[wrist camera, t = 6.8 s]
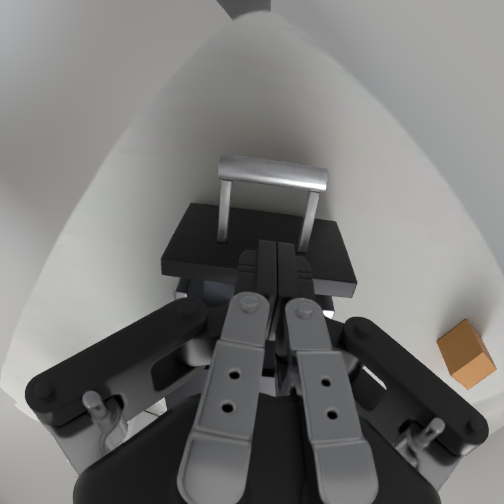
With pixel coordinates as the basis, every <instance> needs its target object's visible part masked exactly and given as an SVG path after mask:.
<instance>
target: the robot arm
mask: <svg viewBox="0 0 504 504" xmlns="http://www.w3.org/2000/svg"><path fill="white" fill-rule="evenodd" d="M268 333H269V340H271V341H275V350H274V354H273V365H274V378H275V390H276V397H275V396H271V395H268V394H264V393H261V392H259V389H260V382H261V375H262V368H263V361H264V353H265V347H264V345H265V340H267V338H268ZM206 365H210V366H209V370H208V373H207V377H206V381H205V384H204V388H203V391H202V393H199V394H196V395H192V396H190V397H187V398H185V399H183V400H181V401H180V402H178V403H177V404H175V405H174V406H173V407H171V408H170V409H169V410H167V411H166V412H165V413H163V414H162V415H161V416H159V417H158V418H157V419H155V420H154V421H153V422H151V423H150V424H149V425H147V426H146V427H144V428H143V429H142V430H140V431H139V432H138V433H136V434H135V435H133V436H132V437H131V438H129V439H128V440H126V441H125V442H124V443H122V444H121V445H119V446H118V447H116V446H117V445H118V444H119V443H120V442H121V441H122V440H123V439H124V438H125V437H126V435H127V432H128V424H127V421H129V420H131V419H132V418H134V417H135V416H137V415H138V414H140V413H141V412H143V411H144V410H146V409H147V408H149V407H150V406H152V405H153V404H155V403H156V402H158V401H159V400H161V399H162V398H164V397H165V396H167V395H168V394H169V393H171V392H172V391H174V390H175V389H177V388H178V387H180V386H181V385H182V384H184V383H185V382H187V381H188V380H190V379H191V378H192V377H194V376H195V375H197V374H198V373H199V372H201V371H202V370H203V369H204V368H205V367H206ZM364 365H365V366H366V367H367V368H368V369H369V370H370V371H371V372H372V373H373V374H375V375H376V376H377V377H378V378H379V379H380V380H381V381H382V382H383V383H384V384H385V386H386V389H387V390H386V389H384V388H383V387H382V386H381V385H380V384H379V383H378V382H377V381H376V380H375V379H373V378H372V377H371V376H370V375H369V374H368V373H367V372H366V371H365V370H364V369H363V367H364ZM25 399H26V402H27V404H28V405H29V407H30V408H31V409H32V410H33V412H34V413H35V414H36V416H37V418H38V419H39V421H40V422H41V423H42V424H43V425H44V427H45V428H46V429H47V430H48V431H49V432H50V433H51V434H52V436H54V438H55V440H56V441H57V443H58V445H59V446H60V448H61V449H62V451H63V452H64V454H65V456H66V457H67V458H68V460H69V462H70V463H71V465H72V466H73V468H74V469H75V471H76V472H77V473H78V475H79V477H78V479H77V481H76V484H75V486H74V491H73V504H441V500H440V497H439V494H438V491H439V490H440V488H441V487H442V486H443V484H444V483H445V482H446V480H447V479H448V478H449V476H450V475H451V473H452V472H453V470H454V469H455V467H456V466H457V465H458V463H459V462H460V460H461V459H462V458H463V457H465V456H466V455H468V454H469V453H470V452H472V451H473V450H474V449H476V448H477V447H478V446H479V445H481V444H482V443H483V442H484V441H485V440H486V439H487V437H488V433H489V428H488V424H487V421H486V419H485V418H484V417H483V416H482V415H481V414H480V413H479V412H478V411H477V410H476V409H475V408H474V407H472V406H471V405H470V404H469V403H468V402H467V401H465V400H464V399H463V398H462V397H461V396H460V395H459V394H457V393H456V392H455V391H454V390H453V389H452V388H450V387H449V386H448V385H447V384H446V383H445V382H443V381H442V380H441V379H440V378H439V377H438V376H436V375H435V374H434V373H433V372H432V371H431V370H429V369H428V368H427V367H426V366H425V365H424V364H422V363H421V362H420V361H419V360H418V359H416V358H415V357H414V356H413V355H412V354H410V353H409V352H408V351H407V350H406V349H405V348H403V347H402V346H401V345H400V344H399V343H397V342H396V341H395V340H394V339H393V338H391V337H390V336H389V335H388V334H387V333H385V332H384V331H383V330H382V329H381V328H379V327H378V326H377V325H376V324H375V323H373V322H372V321H370V320H369V319H366V318H363V317H351V318H349V319H348V320H347V321H346V322H345V324H344V323H341V322H338V321H335V320H333V319H330V318H328V317H327V316H325V315H324V313H323V310H322V308H321V307H320V306H319V305H318V304H317V303H316V297H315V290H314V284H313V278H312V271H311V265H310V263H309V262H308V261H307V259H306V258H305V257H302V256H295V248H294V244H290V243H283V242H277V244H276V242H274V241H267V240H259V244H258V251H254V250H245V251H244V252H243V253H242V254H241V255H240V258H239V264H238V271H237V277H236V284H235V290H234V296H233V297H232V299H231V300H230V301H229V302H228V303H226V304H225V305H222V306H219V307H211V308H208V307H207V306H206V304H205V303H204V302H202V301H201V300H199V299H196V298H192V297H183V298H179V299H177V300H174V301H173V302H171V303H169V304H167V305H165V306H164V307H162V308H160V309H158V310H156V311H154V312H153V313H151V314H149V315H147V316H145V317H143V318H142V319H140V320H138V321H136V322H134V323H132V324H131V325H129V326H127V327H125V328H123V329H121V330H120V331H118V332H116V333H114V334H112V335H110V336H109V337H107V338H105V339H103V340H101V341H99V342H98V343H96V344H94V345H92V346H90V347H88V348H87V349H85V350H83V351H81V352H79V353H77V354H76V355H74V356H72V357H70V358H68V359H66V360H64V361H63V362H61V363H59V364H57V365H55V366H53V367H52V368H50V369H48V370H46V371H44V372H42V373H40V374H39V375H37V376H35V377H34V378H32V379H31V380H30V382H29V383H28V385H27V387H26V390H25Z"/></svg>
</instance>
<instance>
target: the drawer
mask: <svg viewBox="0 0 504 504" xmlns="http://www.w3.org/2000/svg"><path fill="white" fill-rule="evenodd" d="M218 178H219V179H222V181H221V193H220V206H215V205H207V204H198V203H190V205H189V206H188V208H187V210H186V212H185V214H184V216H183V217H182V219H181V221H180V223H179V225H178V227H177V229H176V230H175V232H174V234H173V236H172V238H171V240H170V242H169V244H168V246H167V248H166V249H165V251H164V253H163V255H162V257H161V271H162V275H167V276H174V277H180V279H179V282H178V284H177V287H176V290H175V300H177V299H179V298H183V297H192V298H196V299H199V300H201V301H202V302H204V303H205V304H206V306H207V307H208V308H211V307H219V306H222V305H225V304H226V303H228V302H229V301H230V300H231V299H232V297H233V296H234V290H235V284H236V277H237V271H238V264H239V258H240V255H241V254H242V253H243V252H244V251H245V250H254V251H258V244H259V240H267V241H274V242H276V244H277V242H283V243H290V244H294V248H295V256H302V257H305V258H306V259H307V261H308V262H309V263H310V265H311V271H312V278H313V284H314V290H315V297H316V303H317V304H318V305H319V306H320V307H321V308H322V310H323V313H324V315H325V316H327V317H328V318H330V319H332V317H333V314H334V312H335V310H334V306H333V301H332V296H337V297H347V298H352V296H353V294H354V291H355V288H356V286H357V280H356V277H355V274H354V271H353V268H352V265H351V262H350V259H349V256H348V253H347V250H346V247H345V245H344V242H343V239H342V236H341V233H340V231H339V228H338V225H337V222H335V221H329V220H322V219H315V214H316V210H317V205H318V201H319V196H320V192H325V190H326V187H327V183H328V169H327V168H321V167H315V166H309V165H303V164H296V163H290V162H283V161H276V160H268V159H261V158H253V157H244V156H235V155H226V154H221V155H220V158H219V164H218ZM233 180H236V181H244V182H253V183H260V184H268V185H276V186H283V187H290V188H297V189H303V190H309V191H308V196H307V201H306V206H305V211H304V216H303V217H301V216H294V215H287V214H279V213H272V212H264V211H257V210H249V209H241V208H232V207H230V206H231V195H232V184H233ZM264 347H265V353H264V361H263V368H267V369H274V365H273V354H274V350H275V341H271V340H269V333H268V338H267V340H265V345H264Z"/></svg>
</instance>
